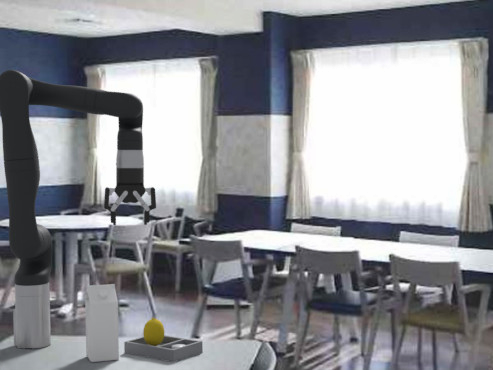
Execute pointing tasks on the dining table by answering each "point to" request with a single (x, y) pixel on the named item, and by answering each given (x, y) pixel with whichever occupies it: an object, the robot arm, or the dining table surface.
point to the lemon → (153, 332)
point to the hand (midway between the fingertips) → (130, 224)
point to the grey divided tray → (164, 348)
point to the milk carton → (101, 323)
